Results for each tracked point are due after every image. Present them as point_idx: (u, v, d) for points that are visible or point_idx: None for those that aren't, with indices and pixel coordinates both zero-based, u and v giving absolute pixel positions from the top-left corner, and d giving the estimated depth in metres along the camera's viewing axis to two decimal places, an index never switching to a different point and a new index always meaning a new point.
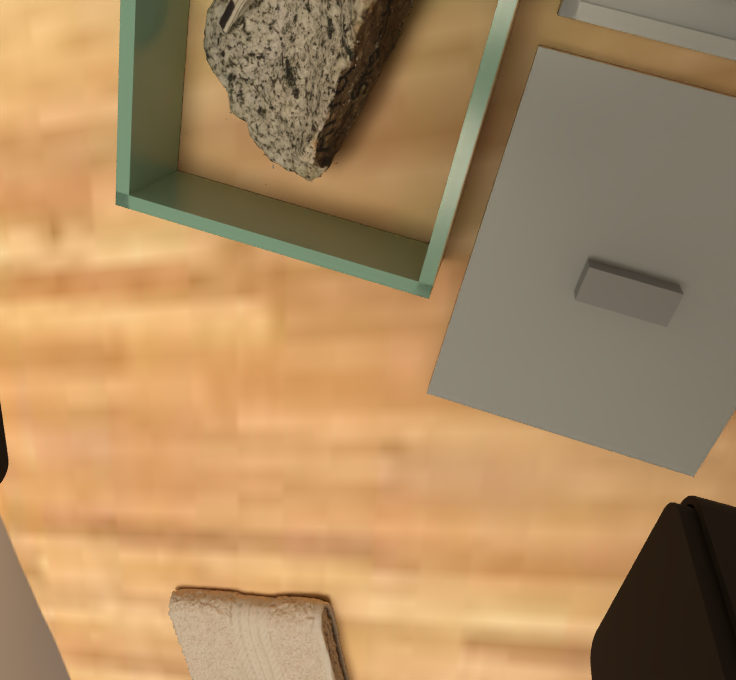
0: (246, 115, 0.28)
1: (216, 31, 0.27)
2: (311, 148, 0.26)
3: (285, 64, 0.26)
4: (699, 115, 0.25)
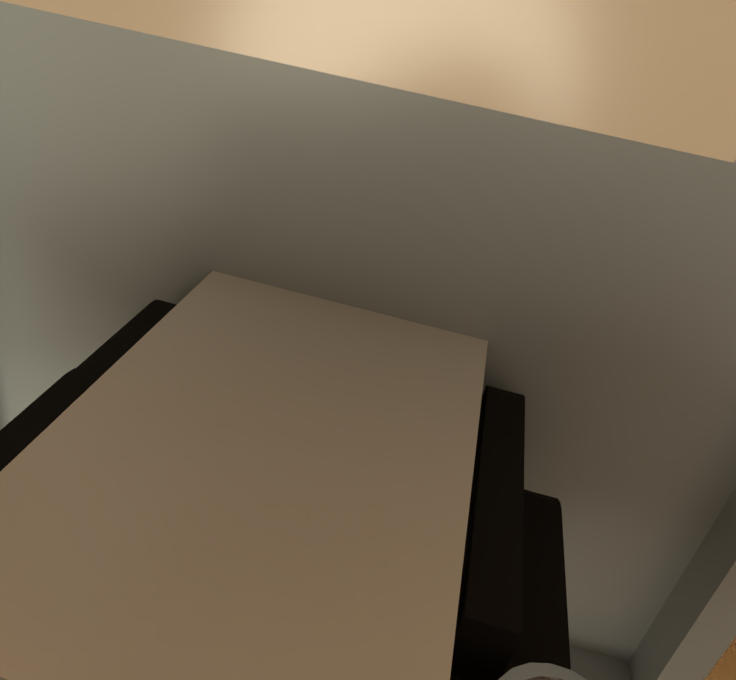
0: None
1: None
2: None
3: None
4: None
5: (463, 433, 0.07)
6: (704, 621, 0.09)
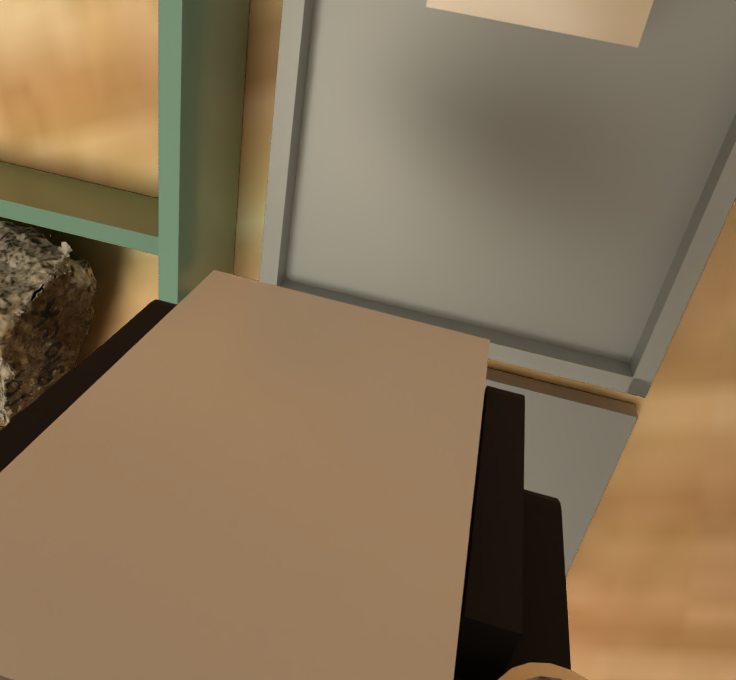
0: None
1: None
2: None
3: None
4: None
5: (466, 432, 0.07)
6: (664, 312, 0.20)
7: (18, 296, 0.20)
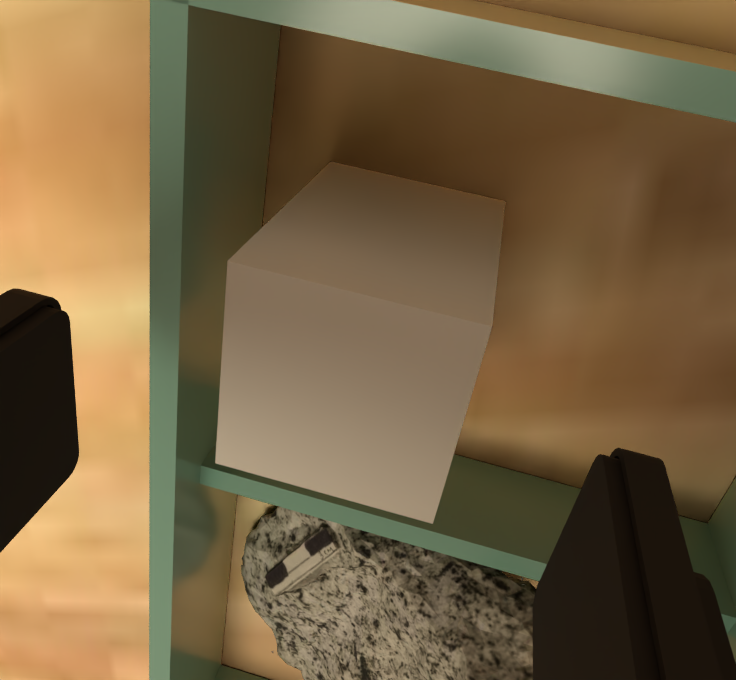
0: (300, 666, 0.21)
1: (260, 576, 0.20)
2: None
3: (360, 661, 0.19)
4: None
5: (494, 233, 0.13)
6: None
7: None
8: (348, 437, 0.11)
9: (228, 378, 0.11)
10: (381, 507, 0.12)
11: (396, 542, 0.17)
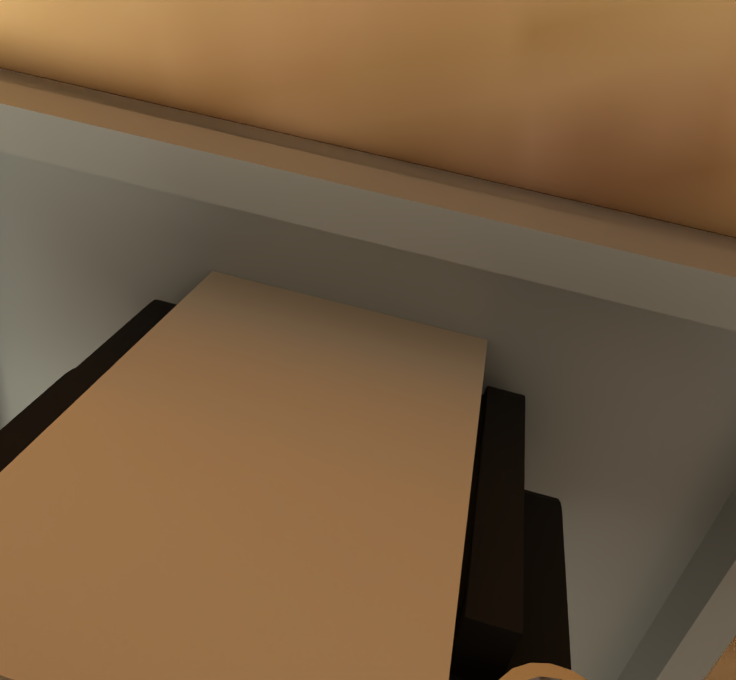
0: None
1: None
2: None
3: None
4: None
5: None
6: None
7: None
8: None
9: None
10: None
11: None
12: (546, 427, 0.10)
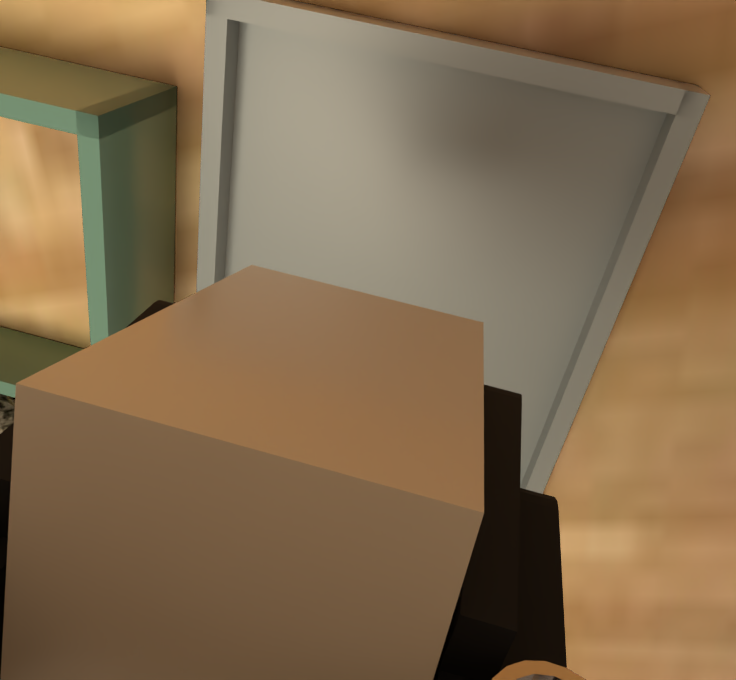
0: None
1: None
2: None
3: None
4: None
5: None
6: (532, 479, 0.23)
7: None
8: None
9: None
10: None
11: None
12: (536, 177, 0.19)
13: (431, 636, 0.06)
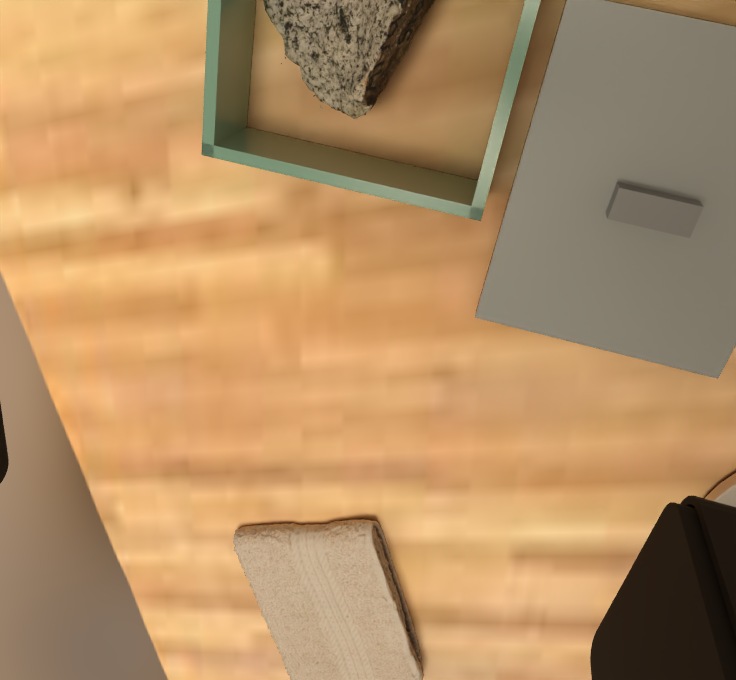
0: (300, 59, 0.32)
1: None
2: (361, 86, 0.30)
3: (339, 13, 0.30)
4: (711, 46, 0.29)
5: None
6: None
7: None
8: None
9: None
10: None
11: None
12: None
13: None
